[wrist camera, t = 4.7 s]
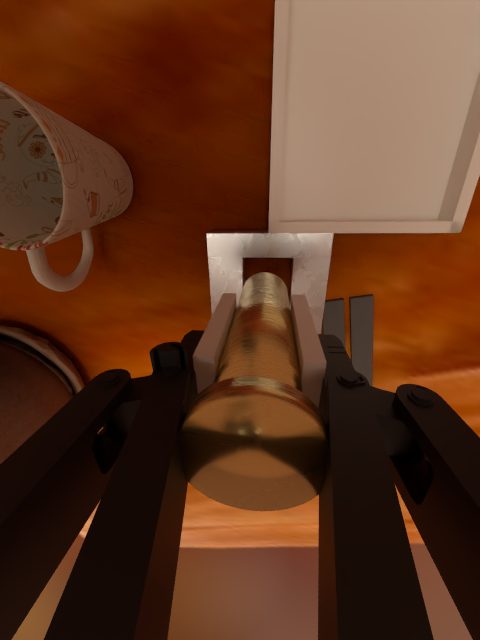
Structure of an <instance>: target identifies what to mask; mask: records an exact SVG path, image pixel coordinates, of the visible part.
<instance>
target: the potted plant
mask: <svg viewBox="0 0 480 640" xmlns="http://www.w3.org/2000/svg"><path fill="white" fill-rule="evenodd" d="M84 387H85V385H84V382H83V380H82V377H81V376H80V374H79V373H78V371H77V369H76V368H75V366H74V365H73V363H72V361H71V360H70V359H69V358H68V357H67V356H65V355H64V354H63V353H62V352H60V351H59V350H58V349H57V348H56V347H54V346H53V345H52V344H51V342H50V341H49V340H47V339H44V338H42V337H40V336H37V335H35V334H33V333H31V332H28V331H26V330H23V329H21V328H16V327H10V326H6V325H3V324H0V464H1V463H2V462H3V461H4V460H5V459H7V458H8V457H9V456H10V455H11V454H12V453H13V452H14V451H15V450H16V449H17V448H18V447H20V446H21V445H22V444H23V443H24V442H25V441H26V440H27V439H28V438H29V437H30V436H32V435H33V434H34V433H35V432H36V431H37V430H38V429H39V428H40V427H41V426H42V425H44V424H45V423H46V422H47V421H48V420H49V419H50V418H51V417H52V416H53V415H54V414H55V413H57V412H58V411H59V410H60V409H61V408H62V407H63V406H64V405H65V404H66V403H67V402H69V401H70V400H71V399H72V398H73V397H74V396H75V395H76V394H77V393H78V392H79V391H80V390H82V389H83V388H84Z"/></svg>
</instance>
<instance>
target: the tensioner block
mask: <svg viewBox="0 0 480 640" xmlns="http://www.w3.org/2000/svg"><path fill="white" fill-rule="evenodd" d="M333 235H334V233H268V230H212V231H210V232H208V233H207V249H208V264H209V279H210V294H211V309H212V315H213V313H214V311H215V309H216V307H217V305H218V303H219V301H220V299H221V297H222V295H223V293H236V303H237V306H238V302H239V299H240V296H241V293H242V289H243V286H244V284H245V257H259V258H291V271H290V286H289V296H288V299H289V305H290V307H291V294H294V295H305V296H306V299H307V302H308V305H309V309H310V312H311V315H312V318H313V321H314V324H315V328H316V331H317V334H321V328H322V320H323V312H324V305H325V297H326V289H327V281H328V274H329V266H330V258H331V250H332V243H333Z"/></svg>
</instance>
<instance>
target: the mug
mask: <svg viewBox="0 0 480 640" xmlns="http://www.w3.org/2000/svg"><path fill="white" fill-rule="evenodd" d="M132 196H133V179H132V175H131V172H130V169H129V167H128V165H127V163H126V161H125V160H124V158H123V157H122V156H121V155H120V153H119V152H118V151H117V150H116V149H114V148H113V147H112V146H111V145H109V144H108V143H106V142H104V141H103V140H101V139H99V138H97V137H96V136H94V135H92V134H91V133H89V132H87V131H85V130H84V129H82V128H80V127H79V126H77V125H75V124H74V123H72V122H70V121H68V120H67V119H65V118H63V117H62V116H60V115H58V114H56V113H55V112H53V111H51V110H50V109H48V108H46V107H44V106H43V105H41V104H39V103H38V102H36V101H34V100H32V99H31V98H29V97H27V96H26V95H24V94H22V93H21V92H19V91H17V90H15V89H14V88H12V87H10V86H8V85H6V84H4V83H2V82H1V81H0V247H2V248H6V249H11V250H26V252H27V256H28V260H29V263H30V267H31V270H32V272H33V275H34V277H35V278H36V279H37V280H38V282H40V283H41V284H42V285H44V286H45V287H47V288H49V289H52V290H54V291H61V292H64V291H70V290H72V289H74V288H76V287H78V286H79V285H80V284H81V283H82V282H83V281H84V279H85V278H86V276H87V274H88V272H89V269H90V266H91V262H92V259H93V254H94V246H93V240H92V234H91V229H90V227H93V226H95V225H97V224H100V223H102V222H105V221H107V220H110V219H112V218H114V217H116V216H118V215H120V214H122V213H123V212H124V211H125V210H126V209H127V207H128V206H129V204H130V202H131V199H132ZM80 231H82V241H83V252H82V257H81V261H80V263H79V265H78V267H77V268H76V270H75V271H74V272H73V273H71V274H70V275H67V276H61V275H58V274H56V273H55V272H53V271H52V270H51V268H50V267H49V265H48V262H47V258H46V253H45V248H44V246H46V245H49V244H51V243H54V242H56V241H59V240H61V239H63V238H66V237H68V236H71V235H73V234H76V233H78V232H80Z"/></svg>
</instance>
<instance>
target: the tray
mask: <svg viewBox="0 0 480 640" xmlns="http://www.w3.org/2000/svg"><path fill="white" fill-rule="evenodd" d="M479 175H480V0H275V19H274V54H273V89H272V124H271V160H270V195H269V230H268V233H461V230H462V227H463V224H464V221H465V218H466V215H467V212H468V209H469V206H470V203H471V200H472V197H473V194H474V190H475V187H476V184H477V181H478V178H479Z"/></svg>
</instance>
